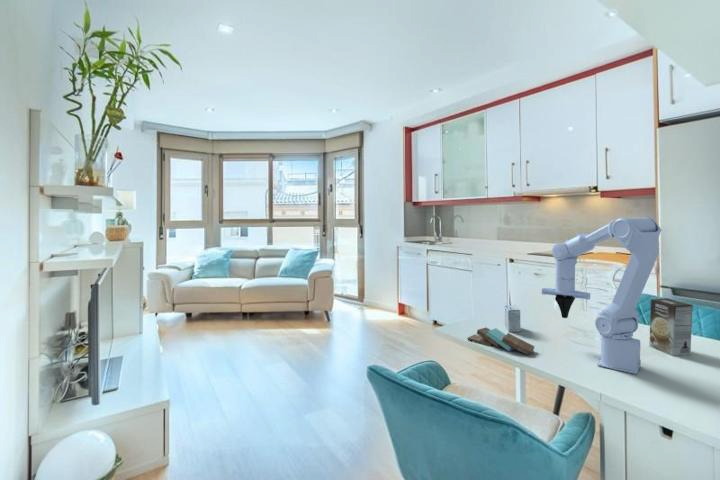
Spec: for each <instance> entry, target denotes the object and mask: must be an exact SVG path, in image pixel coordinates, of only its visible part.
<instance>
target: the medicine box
mask: <svg viewBox="0 0 720 480" xmlns="http://www.w3.org/2000/svg"><path fill="white" fill-rule="evenodd" d="M504 326H505V328H506V329H507V331H508V333H521V330H522V329H521V309H520V308H519V307H518V306H517V305H516V304H506V305H504Z"/></svg>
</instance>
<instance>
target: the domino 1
mask: <svg viewBox="0 0 720 480" xmlns="http://www.w3.org/2000/svg"><path fill="white" fill-rule="evenodd" d="M490 330H491V329H490V328H488V327H486V326H485V327H481V328H479V329H477V331H476V335H479V336H481V337H483V338H484V339H486V340H487V341H489V342H490V343H492V344H493V345H492V346H495V347H496V348H499V347H502V346H501V345H500V344H498V343H497V342H496V341H494V340H493V339H491V338H490V337H489V336H487V333H488V331H490Z"/></svg>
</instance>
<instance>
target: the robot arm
mask: <svg viewBox="0 0 720 480" xmlns="http://www.w3.org/2000/svg"><path fill="white" fill-rule="evenodd" d="M661 232H662V228H661V227H660V225H659V223H658V222H657V221H656V219H655V218H653V217H651V216H643V217H619V218H617V219H615V220H611V221H610V222H609V223H607V224H606V225H603V226H602V227H600V228H599V229H596V230H595V231H593V232H591V233H590V234H589V233H586V232H585V233H582V232H581V233H580V232H578V233H576V236H575V237H572V238H571V239H570V238H568V239H565V242H557V243H555V244H554V245H553V247H552V248H551V254H552V257H553V258H554V259H555V288H546V287H543V288H541V295H548V296H550V295H551V296H555V298H554V299H555V301H556V303H557V305H558V308H559V310H560V315H561V318H562V319H568V318H569V314H570V310H571V307H572V305H573V303H574V302H575V299H583V300H588V301H590V300H591V292H586V291H579V290H576V265H577V264H578V263H577V262H578V261H577V260H578V258H579V257H580V256H581V255H583V254H585V253H587V252H590V251H593V250H594V249H595V246H596V244H599V243H602V242H605V241H606V240H609V239H613V238H615V239H616V240H617V241H618V242H619V244H621V246H622V247H624V249H626V250H627V251H628V252H629V253H630V257H629V259H628V262H627V265H626V267H625V270H624V272H623V274H622V277H621V279H620V281H619V284H618V287H617V289H616V291H615V294H614V297H613V300H612V302H610V304H608V305H607V306H605V307H604V308H603V309H602V311H601V312H600V314H599V315H598V316H596V318H595V320H594V322H595V323H594V325H595V328H596V330H597V332H599V335H600V336H601V337H600V339H601V345H600V359H599V361H598V362H597V367H603V368H607V369H610V370H611V369H612V370H616V371H621V372H625V373H630V374H634V375H635V374H636V375H637V374H638V372H639V369H640V366H641V363H642V361H641V340H640V339H638V338H634V337H633V336H634V333H635V332H636V331H637V330H638V328H639V317H640V312H638V310H636V307H637V305H638V302H639V301H640V298H641V296H642V293H643V291H644V289H645V286H646V284H647V282H648V281H649V278H650V275H651V273H652V271H653V268H654V266H655V264H656V261H657V260H658V257H659V255H660V254H659V250H660V249H659V247H660V246H659V237H660V234H661Z"/></svg>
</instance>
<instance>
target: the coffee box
mask: <svg viewBox="0 0 720 480" xmlns="http://www.w3.org/2000/svg"><path fill="white" fill-rule="evenodd" d="M693 306H694V305H693V304H690V303H688V302H683V301H679V300H675V299H674V298H673V299H672V298H670V297H667V298H665V297H664V298H653V299H650V318H649V319H650V322H649V326H650V327H649V347H651V348H654V349H655V350H658V351H661V352H662V353H665V354H667V355H670V356H672V357H675V356H676V357H677V356H679V357H680V356H690V355H691V352H692V351H691V350H692V331H693V330H692V329H693V328H692V327H693V309H694V307H693Z"/></svg>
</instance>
